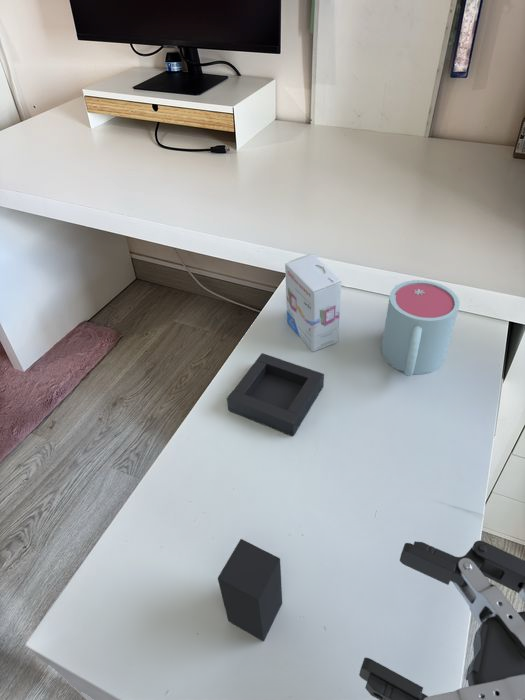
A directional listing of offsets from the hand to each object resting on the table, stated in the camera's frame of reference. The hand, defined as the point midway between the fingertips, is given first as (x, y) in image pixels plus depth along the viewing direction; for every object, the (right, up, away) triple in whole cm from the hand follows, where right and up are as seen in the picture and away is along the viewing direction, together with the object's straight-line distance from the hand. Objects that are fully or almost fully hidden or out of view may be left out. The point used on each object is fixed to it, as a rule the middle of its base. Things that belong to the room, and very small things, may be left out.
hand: (383, 605), depth 35 cm
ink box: (-1, +21, +45) cm, 50 cm away
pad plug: (-9, -8, +15) cm, 19 cm away
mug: (+13, +16, +39) cm, 45 cm away
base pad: (-6, +11, +35) cm, 38 cm away
